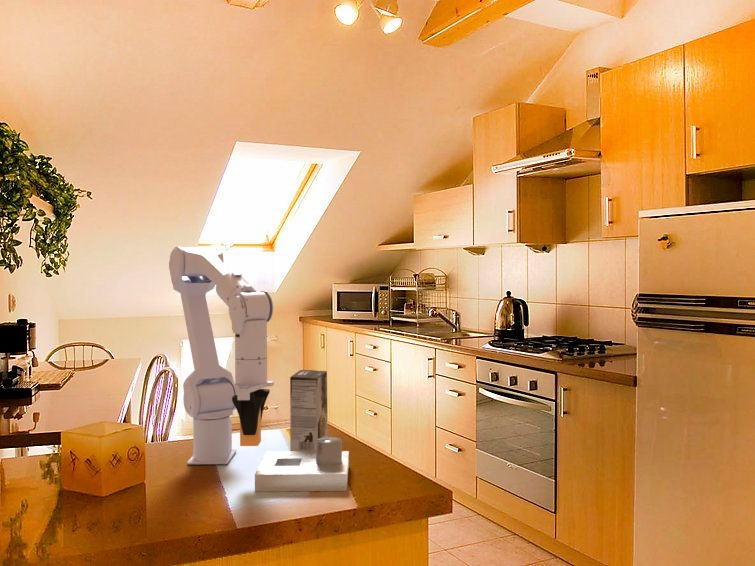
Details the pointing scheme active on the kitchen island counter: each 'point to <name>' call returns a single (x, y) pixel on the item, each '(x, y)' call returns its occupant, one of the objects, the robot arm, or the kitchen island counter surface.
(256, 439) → the orange rectangular block
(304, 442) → the coffee box
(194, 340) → the robot arm
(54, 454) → the kitchen island counter surface
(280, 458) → the white base platform
